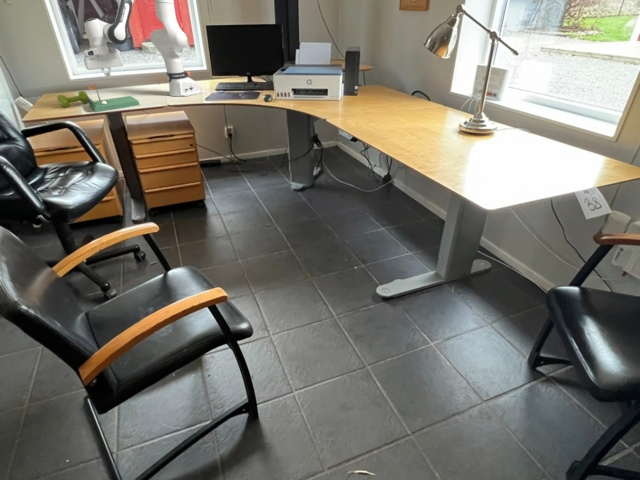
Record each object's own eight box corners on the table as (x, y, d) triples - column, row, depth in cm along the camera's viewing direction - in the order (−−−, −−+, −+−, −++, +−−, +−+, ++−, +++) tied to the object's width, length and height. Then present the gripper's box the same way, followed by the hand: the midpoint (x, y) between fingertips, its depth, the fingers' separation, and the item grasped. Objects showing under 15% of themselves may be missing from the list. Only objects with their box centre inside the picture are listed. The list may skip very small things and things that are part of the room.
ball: (107, 106, 237) (105, 100, 235) (109, 107, 235) (107, 100, 233) (101, 107, 235) (99, 101, 233) (103, 108, 233) (100, 101, 231)
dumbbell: (64, 108, 234) (60, 96, 230) (59, 107, 238) (54, 94, 234) (91, 103, 244) (87, 91, 240) (86, 101, 249) (82, 90, 245)
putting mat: (131, 99, 250) (126, 80, 243) (139, 105, 238) (134, 84, 231) (89, 106, 237) (82, 85, 231) (95, 112, 225) (88, 90, 219)
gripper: (117, 48, 229) (124, 72, 236) (80, 51, 219) (88, 77, 226) (120, 49, 224) (127, 74, 232) (82, 53, 214) (91, 79, 222)
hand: (108, 76), depth 229 cm, fingers closed
